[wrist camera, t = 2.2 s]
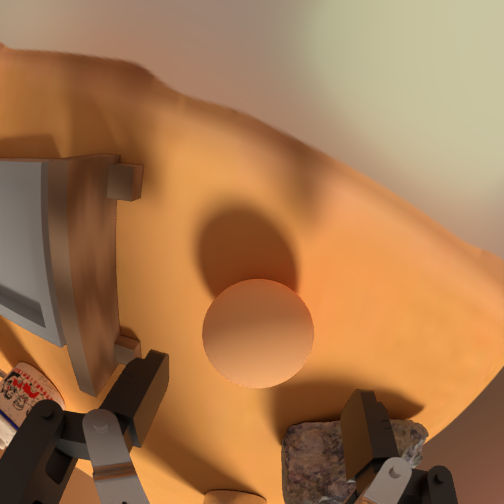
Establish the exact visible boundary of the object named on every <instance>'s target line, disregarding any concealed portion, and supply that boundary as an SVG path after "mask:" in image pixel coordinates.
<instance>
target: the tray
mask: <svg viewBox="0 0 504 504" xmlns="http://www.w3.org/2000/svg"><path fill="white" fill-rule="evenodd" d="M49 160H53V159H41V158H0V315H2V316H4V317H5V318H7V319H9V320H10V321H12V322H14V323H15V324H17V325H19V326H21V327H22V328H24V329H26V330H28V331H30V332H31V333H33V334H35V335H37V336H39V337H41V338H43V339H45V340H47V341H49V342H51V343H53V344H55V345H57V346H59V347H61V348H62V347H63V346H64V345H65V344H66V340H65V336H64V332H63V328H62V323H61V318H60V314H59V309H58V303H57V298H56V292H55V285H54V278H53V271H52V262H51V253H50V241H49V226H48V164H49Z"/></svg>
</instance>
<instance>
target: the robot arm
mask: <svg viewBox="0 0 504 504" xmlns="http://www.w3.org/2000/svg"><path fill="white" fill-rule="evenodd" d="M168 382H169V355H168V354H166V353H162V352H159V351H156V350H152V349H151V350H150V351H149V353H148V354H147V356H146V358H145V359H141V358H138V357H137V358H135V359H134V360H132V361H131V362H129V363H128V364H127V365H126V367H125V368H124V370H123V371H122V374H121V375H120V376H119V378H118V380H117V381H116V382H115V384H114V386H113V387H112V389H111V390H110V392H109V393H108V395H107V397H106V398H105V400H104V401H103V403H102V405H101V406H100V407H99V408H98V409H94V410H91V411H89V412H88V413H76V412H70V411H65V410H63V409H62V407H61V406H60V405H59V404H58V403H57V402H56V401H53V400H50V399H44V400H40V401H38V402H37V403H36V404H35V405H34V406H33V407H32V409H31V410H30V412H29V413H28V415H27V416H26V418H25V419H24V421H23V423H22V424H21V426H20V427H19V429H18V430H17V432H16V434H15V435H14V437H13V438H12V440H11V442H10V443H9V445H8V447H7V448H6V450H5V452H4V454H3V456H2V457H1V459H0V504H59V502H60V499H61V497H62V495H63V492H64V490H65V488H66V485H67V483H68V481H69V478H70V476H71V474H72V472H73V469H74V467H75V465H76V463H77V461H78V459H79V458H80V459H85V460H91V463H92V467H93V479H94V483H95V486H96V489H97V492H98V495H99V498H100V501H101V503H102V504H150V503H149V501H148V499H147V496H146V494H145V492H144V490H143V488H142V485H141V483H140V480H139V478H138V476H137V473H136V471H135V468H134V466H133V463H132V460H131V458H130V455H129V453H130V451H131V449H132V447H133V446H136V447H138V448H141V446H142V444H143V441H144V439H145V437H146V435H147V432H148V430H149V428H150V425H151V423H152V421H153V419H154V416H155V414H156V412H157V410H158V408H159V405H160V403H161V401H162V399H163V396H164V394H165V392H166V390H167V386H168ZM340 426H341V434H342V442H343V451H344V460H345V470H346V481H347V482H356V487H355V488H354V489H353V491H352V492H351V493H350V495H349V496H348V497H347V498H346V500H345V501H344V502H343V504H458V502H457V497H456V492H455V488H454V483H453V479H452V475H451V473H450V471H449V470H448V469H447V468H446V467H444V466H434V467H433V468H431V469H430V470H429V471H422V470H417V469H413V468H411V467H410V465H409V463H408V462H407V461H406V460H404V459H402V458H400V456H399V453H398V449H397V445H396V441H395V437H394V433H393V429H392V425H391V422H390V418H389V415H388V411H387V409H386V408H385V407H384V405H383V404H382V403H381V402H377V401H376V397H375V394H374V391H372V390H359V389H356V390H355V391H354V393H353V394H352V396H351V397H350V399H349V401H348V402H347V404H346V405H345V407H344V409H343V410H342V413H341V417H340ZM203 504H267V502H266V500H265V499H263V498H262V497H259V496H257V495H253V494H249V493H244V492H238V491H228V490H216V491H210V492H207V493H206V495H205V499H204V503H203Z"/></svg>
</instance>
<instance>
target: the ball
mask: <svg viewBox="0 0 504 504" xmlns="http://www.w3.org/2000/svg"><path fill="white" fill-rule="evenodd" d="M202 338H203V345H204V349H205V352H206V354H207V357H208V359H209V361H210V362H211V364H212V365H213V366H214V368H215V369H216V370H217V371H218V372H219V373H220V374H221V375H222V376H224V377H225V378H226V379H228V380H229V381H231V382H233V383H235V384H238V385H241V386H244V387H249V388H267V387H272V386H275V385H278V384H281V383H283V382H285V381H287V380H288V379H290V378H291V377H292V376H294V375H295V374H296V373H297V372H298V371H299V370H300V369H301V368H302V366H303V365H304V364H305V362H306V361H307V359H308V357H309V354H310V352H311V349H312V345H313V339H314V326H313V322H312V318H311V315H310V312H309V310H308V308H307V306H306V305H305V303H304V302H303V300H302V299H301V298H300V297H299V296H298V295H297V294H296V293H295V292H294V291H293V290H291V289H290V288H288V287H287V286H285V285H283V284H281V283H278V282H275V281H272V280H266V279H249V280H245V281H241V282H238V283H236V284H234V285H232V286H230V287H228V288H227V289H225V290H224V291H223V292H221V293H220V294H219V295H218V296H217V297H216V298H215V300H214V301H213V302H212V304H211V305H210V307H209V309H208V310H207V313H206V316H205V319H204V323H203V330H202Z"/></svg>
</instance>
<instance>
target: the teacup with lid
mask: <svg viewBox="0 0 504 504" xmlns="http://www.w3.org/2000/svg"><path fill="white" fill-rule="evenodd" d="M0 377H2V378H3V380H2V381H1V382H0V449H4V448H5V445H6V446H7V447H8V445H9V443H10V442H11V440H12V438H13V437H14V435H15V434H16V432H17V430H18V429H19V427H20V426H21V424H22V423H23V421H24V419H25V418H26V416H27V415H28V413H29V412H30V410H31V409H32V407H33V406H34V405H35V404H36V403H37V402H38V401H40V400H44V399H50V400H53V401H56V402H57V403H58V404H59V405H60V406H61V407H62V409H63V410H65V404H64V401H63V399H62V397H61V395H60V393H59V392H58V391H57V389H56V388H55V387H54V385H53V384H52V383H51V382H50V381H49V380H48V379H47V378H46V377H45V376H44V375H43V374H42V373H41V372H40V371H38V370H37V369H36V368H34V367H33V366H31V365H29V364H27V363H24V362H20V363H18V364H17V365H16V366H15V367H14V368H13V369H12V370H11V371H10V372H9V373H8V374H6V373H5V372H4V371H2V370H1V369H0Z"/></svg>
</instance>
